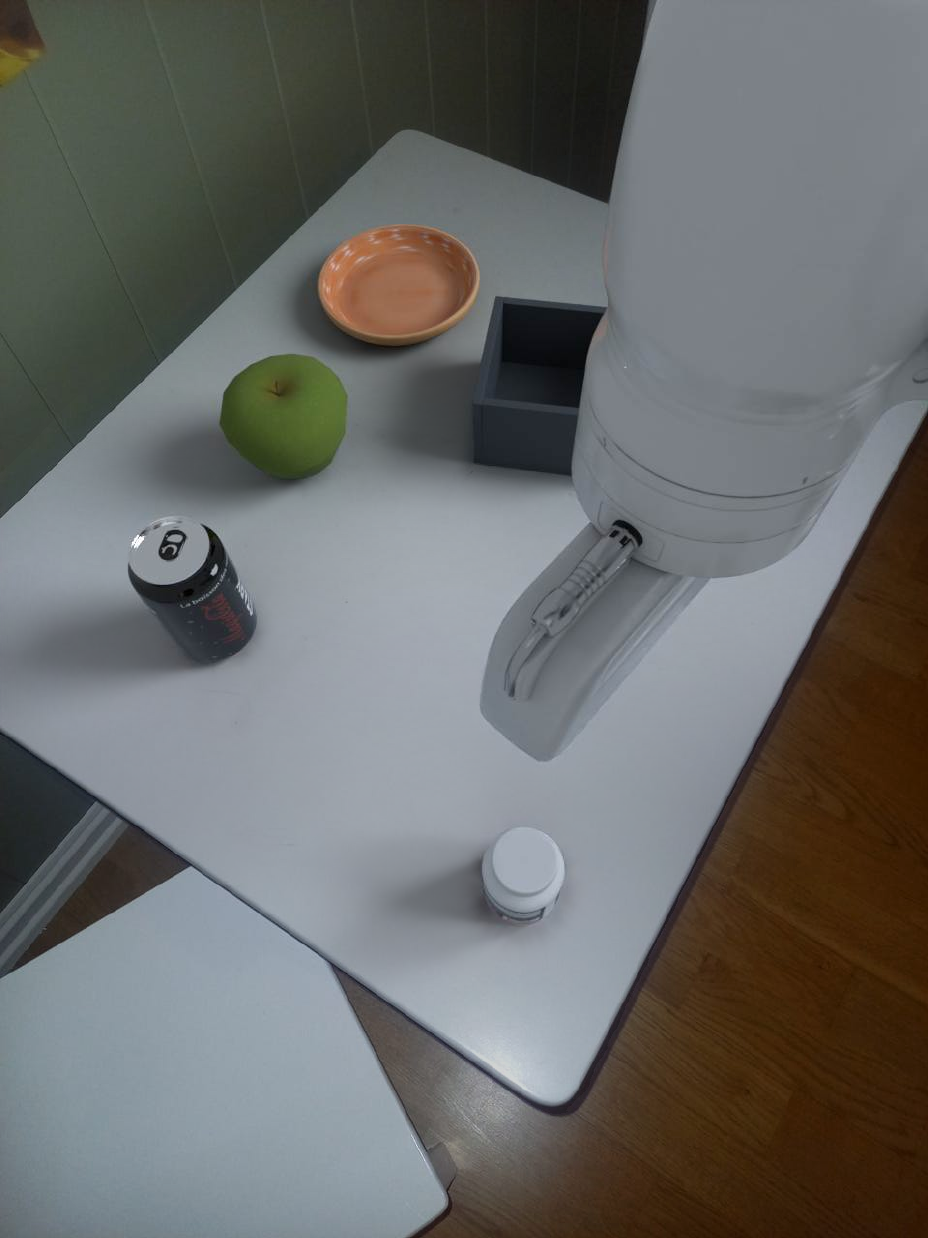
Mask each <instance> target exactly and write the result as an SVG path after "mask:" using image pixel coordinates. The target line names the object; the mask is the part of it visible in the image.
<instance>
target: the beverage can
mask: <svg viewBox="0 0 928 1238" xmlns="http://www.w3.org/2000/svg"><path fill="white" fill-rule="evenodd" d="M127 552H128V554H127V555H128V557H127V559H128V563H127V576H128V580H129V581H130V584H131V586H132V588H133V589H134V591H135V592H136V594H137V595H138V596H139V598H140V599H141V600H142V602H143V603H144V604H145V606H146V607H147V609H148V610H149V611H150V613H151V614H152V616H153V617H154V618H155V619H156V621H157V622H158V623H159V625H160V626H161V627H162V629H163V631H164V632H165V633H166V634H167V635H168V637H169V638H170V640H172V642H173V643H174V644H175V646H176V647H177V648H178V649H179V650H180V651H181V653H183V654H184V655H186V656H187V657H188V658H190V659H193V660H195V661H200V662H206V663H207V662H218V661H222V660H225V659H228V658H230V657H233V656H234V655H236V654H238V653H239V652H240V651H241V650H243V649H244V648H245V647H246V646H247V644H248V643H250V641H251V639H252V638H253V636H254V634H255V631H256V628H257V625H258V613H257V609H256V607H255V604H254V601H253V600H252V598H251V596H250V594H249V591H248V590H247V587H246V586H245V584H244V582H243V580H242V578H241V576H240V574H239V572H238V570H237V568H236V566H235V564H234V561H233V560H232V558H231V556H230V554H229V552H228V550H227V549H226V546H225V545H224V543H223V541H222V540H221V538H220V537H219V535H218V534H217V533H216V532H215V531H214V530H213V529H211V527H208V526H207V525H205V524H203V523H200V522H198V521H197V520H195V519H193V518H191V517H188V516H184V515H169V516H164V517H160V518H157V519H155V520H152V521H151V522H149V523H148V524H146V525H144V526H143V527H142V528H141V529H140V530H139V531H138V532H137V533H136V534H135V536H134V537H133V538H132V540H131V543H130V545H129V547H128V551H127Z"/></svg>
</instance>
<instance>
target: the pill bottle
mask: <svg viewBox="0 0 928 1238" xmlns="http://www.w3.org/2000/svg"><path fill="white" fill-rule="evenodd" d="M565 865H566V864H565V860H564V857H563V854H562V852H561V849H560V848H559V846H558V844H557V843H556V842H555V840H553V838H551V837H550V836H549V835H547V834H546V833H544V832H543V831H541V830H539V829H537V828H534V827H529V826H518V827H513V828H508V829H507V830H504V831H503V832H501V833H499V834H498V835H497V836H496V837H494V839H493V840H492V841H491V842H490V844H488V846H487V848H486V850H485V852H484V855H483V858H482V863H481V878H482V891H483V895H484V898H485V901H486V903H487V905H488V907H489V908H490V910H491V911H492V912H493V913H494V914H495V915H496V916H497V917H498V918H500V919H501V920H502V921H504V922H507V923H509V924H512V925H515V926H516V925H517V926H528V925H531V924H535V923H537V922H539V921H541V920H543V919H545V917H546V916H548V915H549V914H550V912H551V911H552V910H553V908H554V907H555V906H556V903H557V902H558V899H559V896H560V893H561V890H562V889H563V888H562V887H563V885H564V881H565V876H566V867H565Z"/></svg>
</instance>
